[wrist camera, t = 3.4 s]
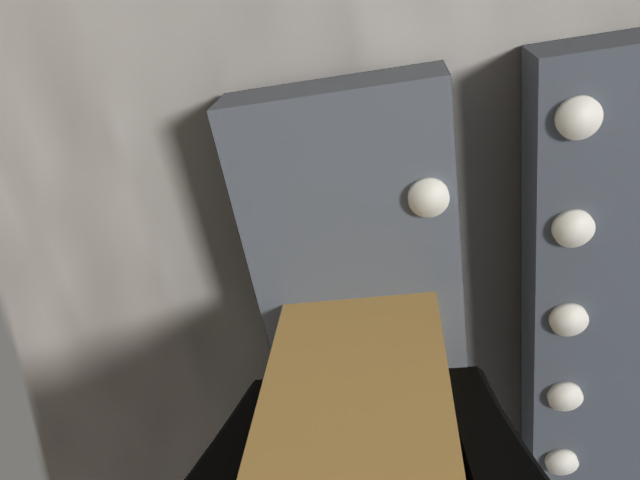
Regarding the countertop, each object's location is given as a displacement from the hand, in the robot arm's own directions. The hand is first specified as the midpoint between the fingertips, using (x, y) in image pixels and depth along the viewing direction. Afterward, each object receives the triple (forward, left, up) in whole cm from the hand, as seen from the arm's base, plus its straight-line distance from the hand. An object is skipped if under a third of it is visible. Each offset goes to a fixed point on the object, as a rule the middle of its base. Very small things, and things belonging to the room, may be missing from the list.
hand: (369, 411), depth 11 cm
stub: (0, 0, -2) cm, 2 cm away
